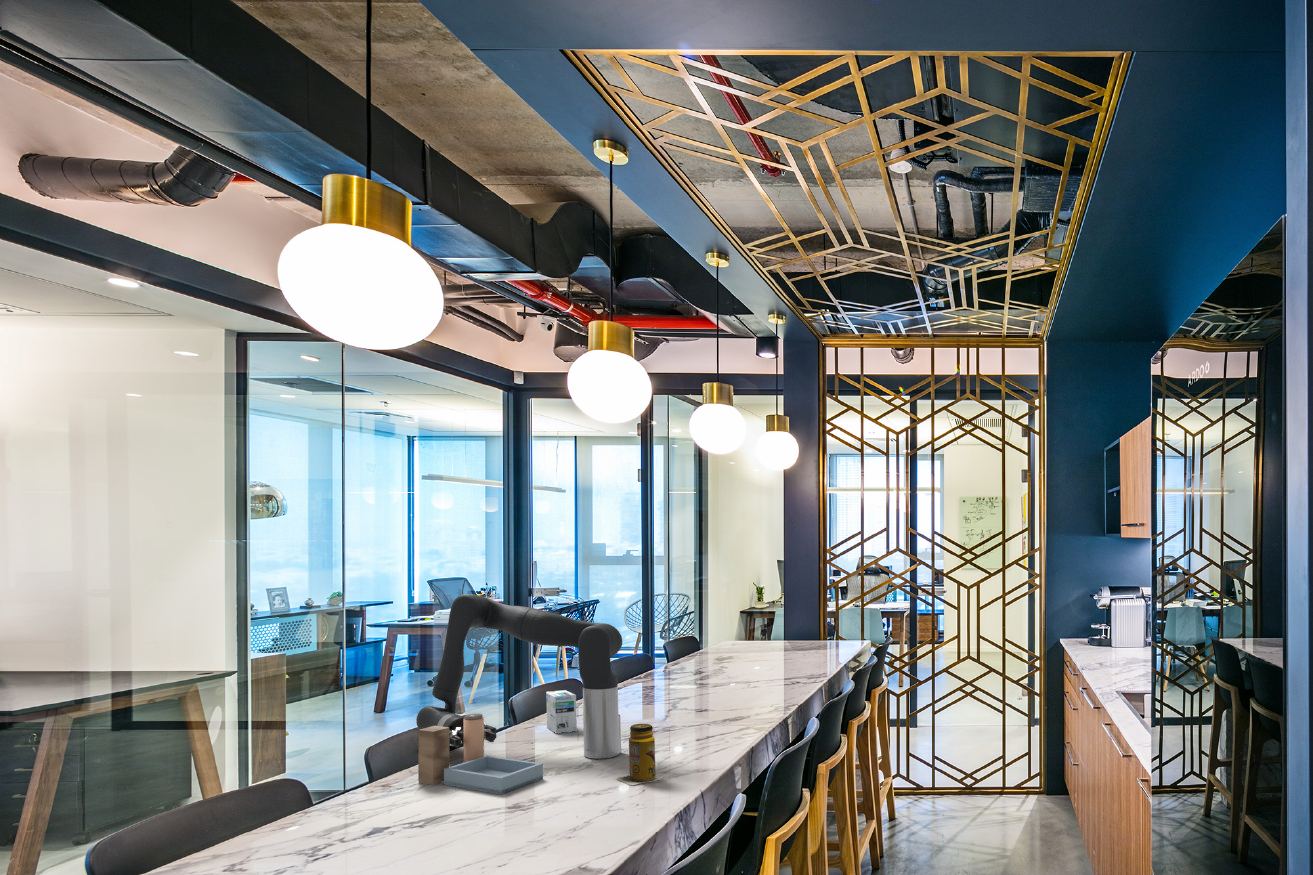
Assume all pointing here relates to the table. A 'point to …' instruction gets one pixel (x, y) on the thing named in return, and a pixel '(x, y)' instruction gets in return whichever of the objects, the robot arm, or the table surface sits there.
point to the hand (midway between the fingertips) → (476, 740)
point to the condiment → (641, 755)
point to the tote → (493, 774)
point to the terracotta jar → (473, 736)
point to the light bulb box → (561, 711)
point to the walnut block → (433, 754)
